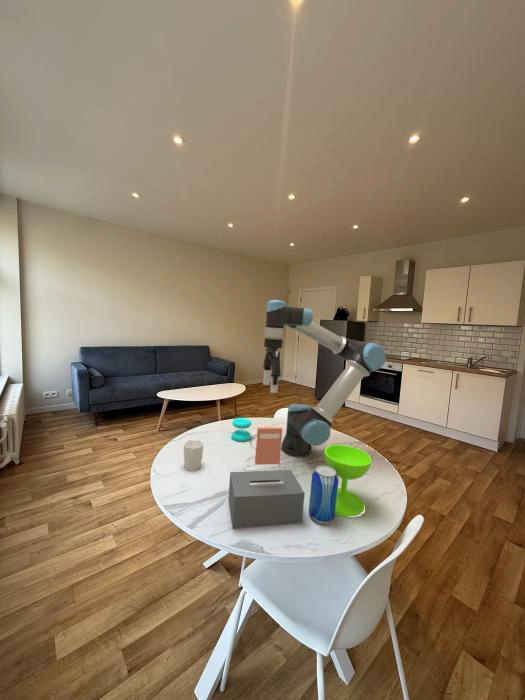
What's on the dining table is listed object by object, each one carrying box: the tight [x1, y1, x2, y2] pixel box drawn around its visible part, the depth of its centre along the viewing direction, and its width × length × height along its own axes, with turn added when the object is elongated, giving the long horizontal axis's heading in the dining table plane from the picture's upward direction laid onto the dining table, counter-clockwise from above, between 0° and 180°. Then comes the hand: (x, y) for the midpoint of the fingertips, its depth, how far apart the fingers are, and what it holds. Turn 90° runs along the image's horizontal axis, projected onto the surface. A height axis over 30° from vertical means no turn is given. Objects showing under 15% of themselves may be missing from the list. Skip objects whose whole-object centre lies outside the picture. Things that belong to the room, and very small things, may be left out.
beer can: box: [308, 465, 339, 525], centre depth 92 cm, size 8×8×16 cm
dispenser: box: [228, 469, 305, 529], centre depth 94 cm, size 22×14×11 cm, turn 102°
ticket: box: [254, 426, 283, 466], centre depth 92 cm, size 8×1×12 cm, turn 102°
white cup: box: [183, 439, 204, 472], centre depth 118 cm, size 8×8×10 cm
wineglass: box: [324, 444, 372, 518], centre depth 101 cm, size 16×16×18 cm
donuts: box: [231, 417, 252, 442], centre depth 150 cm, size 10×10×10 cm
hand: (269, 388), depth 119 cm, fingers open, 13 cm apart
